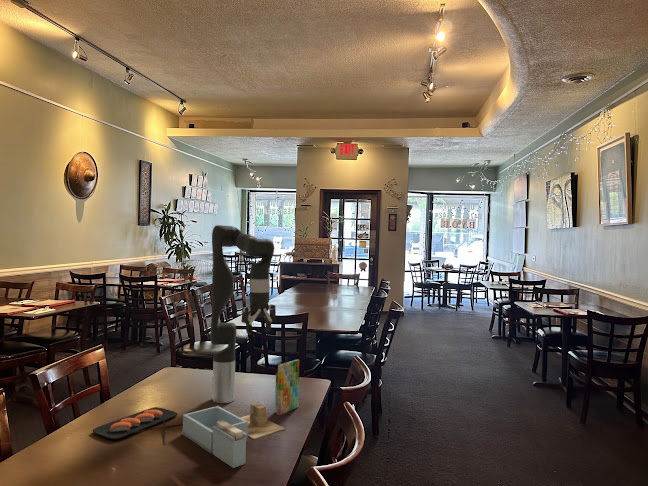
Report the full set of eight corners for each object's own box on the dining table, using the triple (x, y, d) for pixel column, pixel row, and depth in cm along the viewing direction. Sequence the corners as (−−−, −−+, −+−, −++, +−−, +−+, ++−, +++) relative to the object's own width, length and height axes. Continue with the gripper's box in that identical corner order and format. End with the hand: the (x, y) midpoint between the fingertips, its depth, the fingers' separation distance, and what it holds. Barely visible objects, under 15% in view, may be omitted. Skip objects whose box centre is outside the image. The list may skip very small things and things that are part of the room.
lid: (224, 424, 178) (225, 403, 178) (254, 415, 188) (254, 395, 188) (253, 441, 164) (254, 418, 164) (284, 431, 173) (285, 409, 173)
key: (216, 428, 153) (216, 421, 153) (222, 426, 154) (222, 420, 154) (235, 439, 144) (236, 433, 144) (242, 437, 146) (242, 431, 146)
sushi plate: (155, 410, 191) (155, 401, 191) (210, 426, 176) (210, 416, 176) (88, 435, 166) (88, 424, 166) (145, 456, 151) (145, 444, 151)
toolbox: (182, 434, 167) (182, 408, 167) (217, 424, 177) (218, 400, 177) (232, 468, 143) (232, 438, 143) (269, 454, 152) (270, 426, 152)
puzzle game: (281, 416, 186) (282, 365, 186) (272, 413, 189) (273, 363, 189) (299, 408, 196) (300, 360, 196) (291, 405, 199) (292, 358, 199)
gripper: (249, 292, 173) (248, 336, 173) (280, 290, 182) (279, 332, 182) (238, 290, 178) (237, 333, 178) (268, 288, 188) (268, 329, 188)
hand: (258, 332), depth 180 cm, fingers open, 8 cm apart
